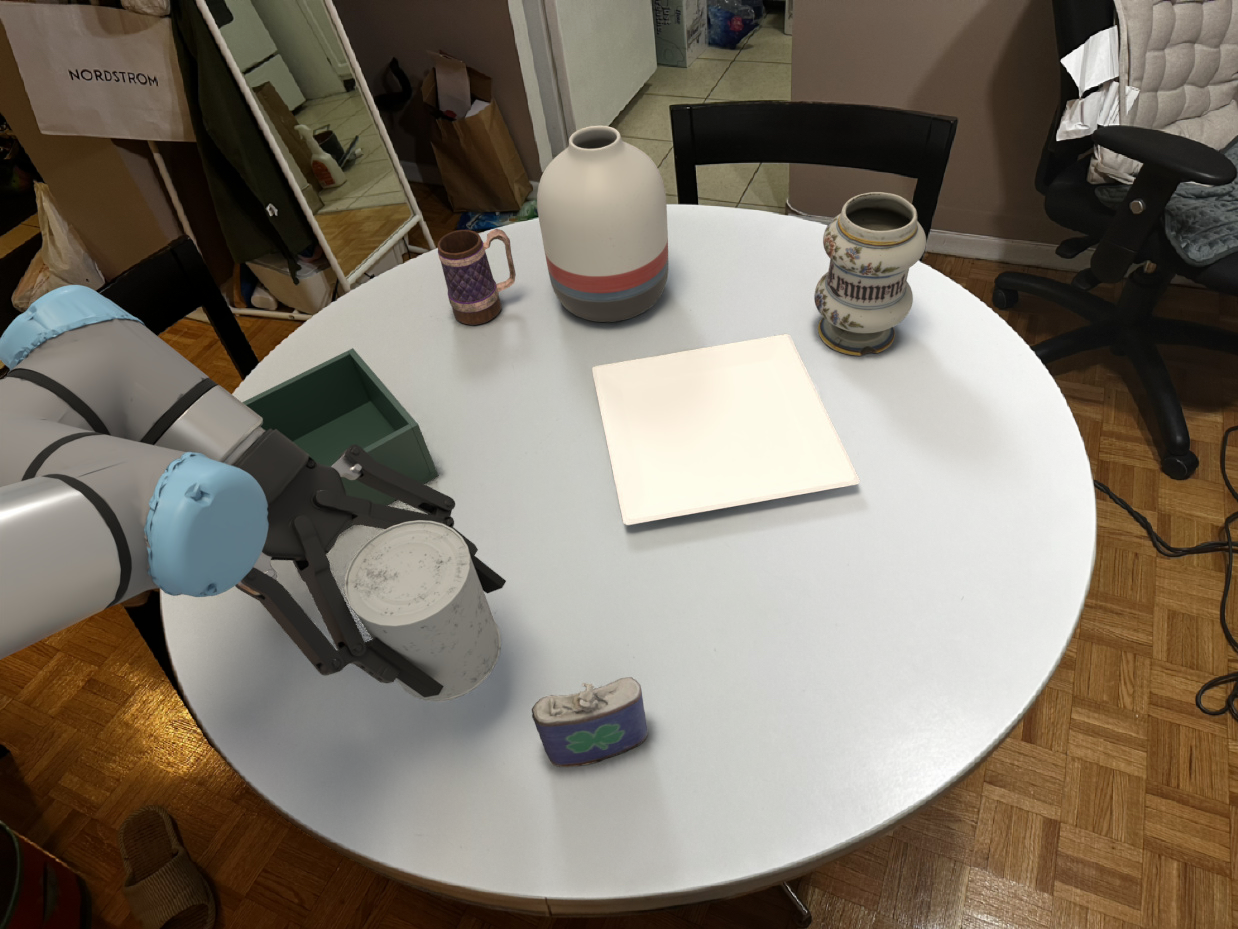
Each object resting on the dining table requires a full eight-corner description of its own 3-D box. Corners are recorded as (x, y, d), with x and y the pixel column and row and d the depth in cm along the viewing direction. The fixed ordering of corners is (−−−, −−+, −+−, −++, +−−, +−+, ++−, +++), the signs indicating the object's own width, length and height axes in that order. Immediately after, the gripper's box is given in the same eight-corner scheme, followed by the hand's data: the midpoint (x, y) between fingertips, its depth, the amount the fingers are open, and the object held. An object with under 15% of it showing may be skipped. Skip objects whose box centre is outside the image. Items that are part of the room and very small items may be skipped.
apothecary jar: (832, 370, 99) (852, 248, 86) (796, 314, 107) (809, 194, 94) (921, 350, 100) (954, 225, 87) (878, 296, 108) (903, 174, 95)
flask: (644, 717, 71) (636, 662, 63) (652, 748, 69) (645, 695, 61) (544, 742, 70) (524, 690, 62) (550, 774, 68) (529, 725, 60)
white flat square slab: (625, 535, 85) (623, 524, 83) (593, 377, 102) (591, 365, 101) (858, 494, 86) (861, 482, 84) (787, 344, 103) (789, 331, 102)
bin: (300, 555, 87) (266, 506, 80) (247, 466, 97) (213, 415, 90) (438, 475, 93) (418, 424, 86) (375, 399, 103) (352, 347, 96)
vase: (679, 265, 117) (675, 107, 99) (657, 337, 106) (648, 175, 89) (571, 258, 120) (548, 104, 103) (539, 327, 110) (507, 169, 92)
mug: (456, 331, 111) (434, 258, 102) (451, 301, 116) (430, 230, 107) (526, 316, 112) (511, 243, 103) (519, 287, 117) (504, 215, 108)
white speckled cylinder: (433, 588, 73) (395, 505, 63) (521, 624, 69) (494, 542, 60) (369, 675, 67) (317, 598, 58) (461, 719, 64) (421, 645, 55)
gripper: (311, 384, 67) (508, 543, 73) (111, 593, 54) (372, 764, 60) (340, 347, 61) (550, 524, 68) (124, 571, 48) (411, 762, 55)
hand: (466, 637), depth 64 cm, fingers closed on white speckled cylinder, 9 cm apart
